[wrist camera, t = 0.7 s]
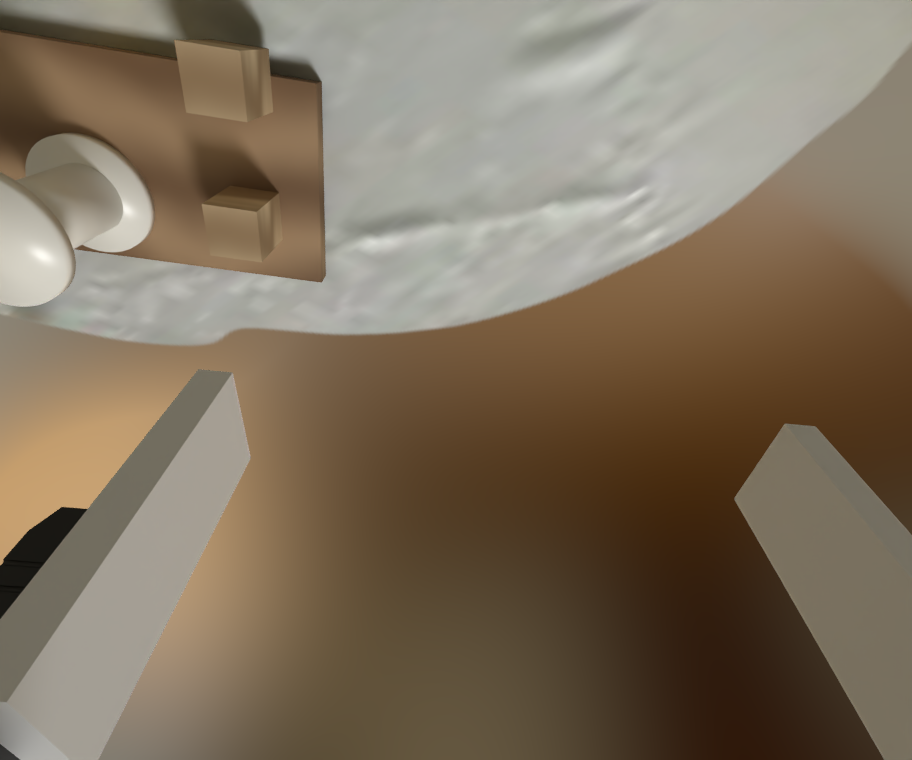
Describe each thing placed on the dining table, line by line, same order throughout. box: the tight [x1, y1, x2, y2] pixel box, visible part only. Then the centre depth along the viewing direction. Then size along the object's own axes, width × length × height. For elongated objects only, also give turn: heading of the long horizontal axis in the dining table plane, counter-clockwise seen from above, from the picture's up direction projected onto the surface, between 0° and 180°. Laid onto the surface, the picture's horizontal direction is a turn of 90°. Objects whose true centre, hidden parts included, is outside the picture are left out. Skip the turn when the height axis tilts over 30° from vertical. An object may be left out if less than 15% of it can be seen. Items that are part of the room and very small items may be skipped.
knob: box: [0, 133, 155, 307], centre depth 27 cm, size 7×7×9 cm
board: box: [0, 29, 326, 282], centre depth 28 cm, size 13×20×5 cm, turn 82°
